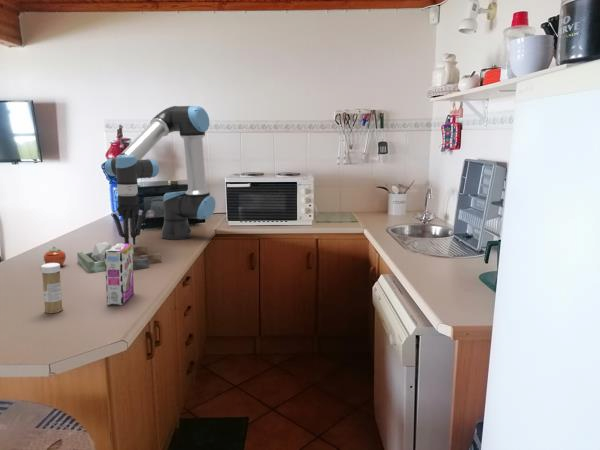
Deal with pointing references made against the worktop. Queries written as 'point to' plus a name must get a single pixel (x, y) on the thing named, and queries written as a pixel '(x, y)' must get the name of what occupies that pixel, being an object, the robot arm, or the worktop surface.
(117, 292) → the candy bar box
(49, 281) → the sprinkles bottle
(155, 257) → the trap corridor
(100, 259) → the die
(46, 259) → the tomato
